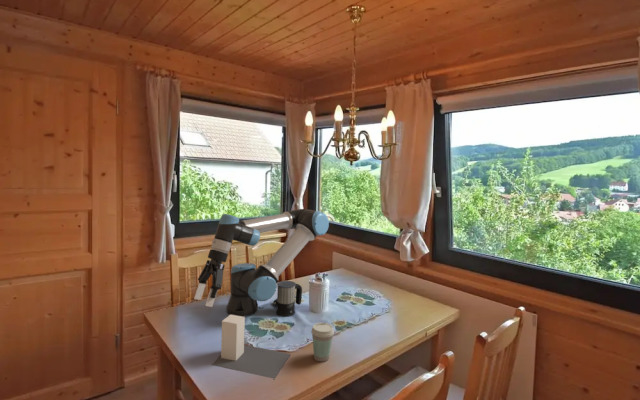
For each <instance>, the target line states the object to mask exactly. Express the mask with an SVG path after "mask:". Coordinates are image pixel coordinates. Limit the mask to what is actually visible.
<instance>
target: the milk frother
mask: <svg viewBox="0 0 640 400" xmlns="http://www.w3.org/2000/svg"><path fill="white" fill-rule="evenodd" d="M302 295H303V288H302V286H301V285H300V284H298V283H296V282H294V281H291V280H282V281H281V280H280V281H278V283H277V298H276V299H274V300H273V306H274V307H276V313H275V314H277V316H280V317H283V318H284V317H292V316H294V315H295V314H296V309H295V306H296V305H298V306H300V305H301V303H302ZM295 304H296V305H295Z"/></svg>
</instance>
